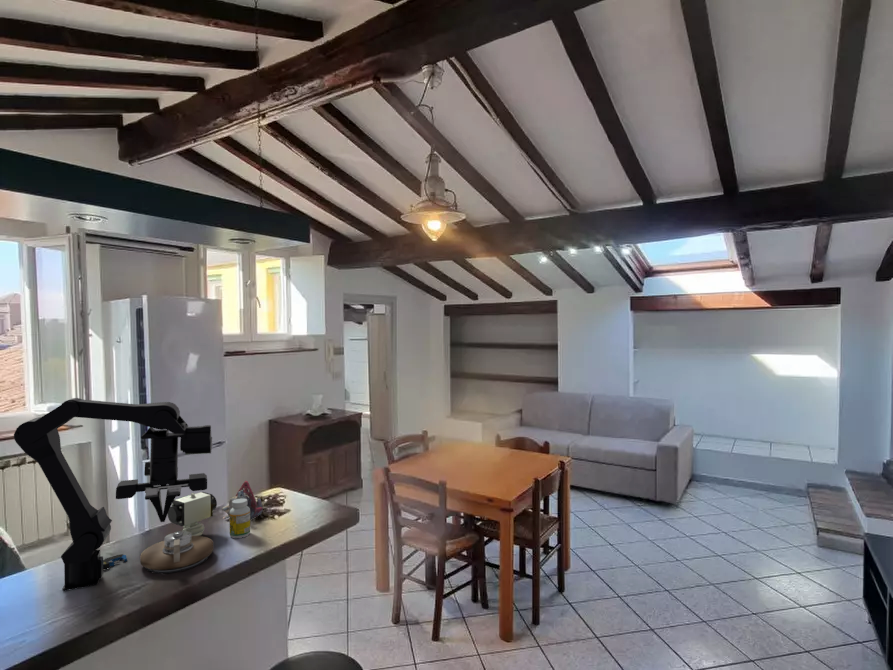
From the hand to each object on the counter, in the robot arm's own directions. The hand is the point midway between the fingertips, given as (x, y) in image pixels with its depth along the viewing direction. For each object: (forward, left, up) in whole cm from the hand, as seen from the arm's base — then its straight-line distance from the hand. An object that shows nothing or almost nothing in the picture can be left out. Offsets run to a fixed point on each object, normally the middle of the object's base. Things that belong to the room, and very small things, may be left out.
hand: (162, 521), depth 121 cm
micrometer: (-14, +8, -12) cm, 20 cm away
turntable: (+3, +4, -10) cm, 11 cm away
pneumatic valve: (+6, +19, -12) cm, 23 cm away
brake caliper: (+20, +28, -12) cm, 37 cm away
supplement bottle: (+18, +14, -12) cm, 26 cm away
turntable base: (+3, +4, -12) cm, 13 cm away
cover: (+3, +4, -9) cm, 10 cm away
